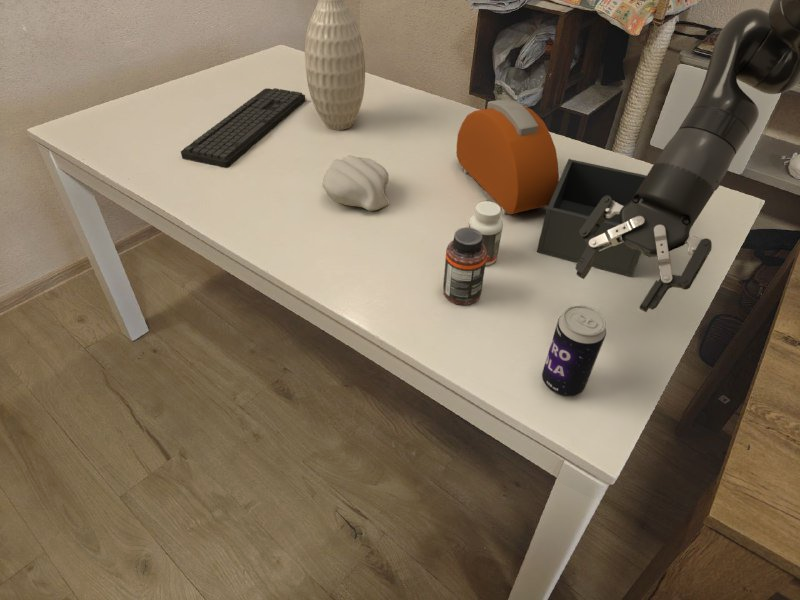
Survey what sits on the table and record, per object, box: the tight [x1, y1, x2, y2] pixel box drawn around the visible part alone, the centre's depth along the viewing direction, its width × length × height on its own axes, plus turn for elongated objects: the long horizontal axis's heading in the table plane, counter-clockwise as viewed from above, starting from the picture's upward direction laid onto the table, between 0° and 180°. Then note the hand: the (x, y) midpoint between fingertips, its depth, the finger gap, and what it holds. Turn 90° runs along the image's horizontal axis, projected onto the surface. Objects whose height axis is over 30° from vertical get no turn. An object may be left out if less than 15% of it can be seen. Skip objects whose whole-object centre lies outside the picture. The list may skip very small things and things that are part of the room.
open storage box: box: [536, 158, 648, 278], centre depth 93 cm, size 16×18×9 cm
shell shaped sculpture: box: [322, 154, 390, 212], centre depth 102 cm, size 13×13×6 cm
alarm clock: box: [456, 98, 560, 215], centre depth 101 cm, size 23×9×17 cm, turn 22°
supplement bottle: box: [442, 227, 487, 306], centre depth 81 cm, size 6×6×11 cm
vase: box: [304, 0, 366, 131], centre depth 117 cm, size 13×13×28 cm
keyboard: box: [180, 87, 306, 169], centre depth 124 cm, size 35×11×2 cm, turn 160°
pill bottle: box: [468, 200, 504, 267], centre depth 88 cm, size 5×5×10 cm
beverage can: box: [541, 305, 607, 397], centre depth 68 cm, size 6×6×12 cm
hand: (610, 292), depth 67 cm, fingers open, 8 cm apart
